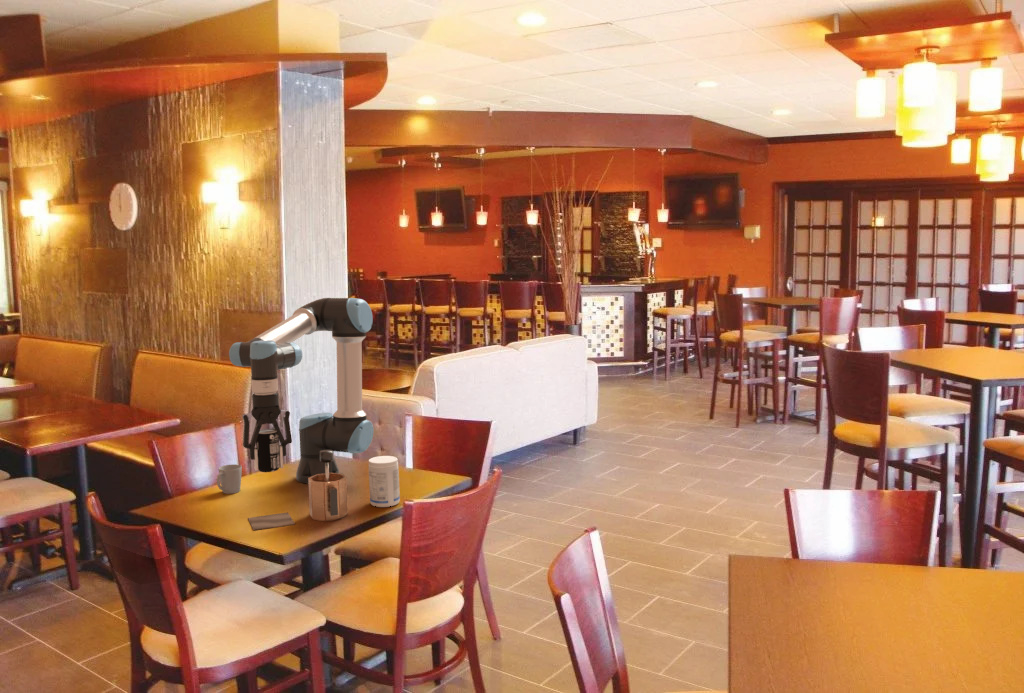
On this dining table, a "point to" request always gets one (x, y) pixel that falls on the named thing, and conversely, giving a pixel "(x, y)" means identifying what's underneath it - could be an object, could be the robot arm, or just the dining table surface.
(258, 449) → the beverage can
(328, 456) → the plunger
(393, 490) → the supplement tub
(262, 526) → the gray-brown square tile
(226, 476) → the cup
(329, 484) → the press carafe
